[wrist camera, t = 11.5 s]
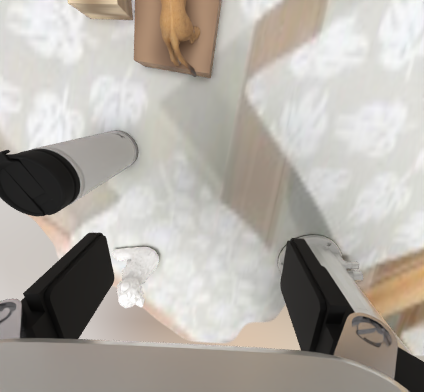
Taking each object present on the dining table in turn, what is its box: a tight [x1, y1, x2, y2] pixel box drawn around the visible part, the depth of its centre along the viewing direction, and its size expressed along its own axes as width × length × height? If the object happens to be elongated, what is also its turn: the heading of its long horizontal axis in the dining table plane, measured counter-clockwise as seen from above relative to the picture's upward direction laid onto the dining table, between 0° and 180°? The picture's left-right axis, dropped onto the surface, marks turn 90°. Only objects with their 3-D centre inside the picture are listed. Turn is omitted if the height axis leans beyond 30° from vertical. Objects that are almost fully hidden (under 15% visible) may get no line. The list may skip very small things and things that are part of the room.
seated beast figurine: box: [112, 247, 159, 308], centre depth 40 cm, size 10×9×12 cm
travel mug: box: [0, 131, 138, 216], centre depth 28 cm, size 6×7×20 cm
